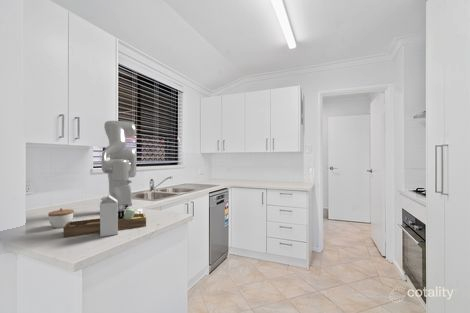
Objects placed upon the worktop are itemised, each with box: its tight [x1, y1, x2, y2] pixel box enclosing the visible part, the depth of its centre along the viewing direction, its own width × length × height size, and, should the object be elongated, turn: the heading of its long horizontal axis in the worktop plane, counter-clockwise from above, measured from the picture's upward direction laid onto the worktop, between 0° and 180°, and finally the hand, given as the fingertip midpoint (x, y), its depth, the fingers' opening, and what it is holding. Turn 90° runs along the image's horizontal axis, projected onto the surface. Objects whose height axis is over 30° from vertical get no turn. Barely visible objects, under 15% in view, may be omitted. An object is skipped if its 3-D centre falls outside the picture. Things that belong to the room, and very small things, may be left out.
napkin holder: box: [134, 208, 144, 214], centre depth 132 cm, size 15×11×6 cm
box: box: [62, 212, 147, 238], centre depth 115 cm, size 10×35×4 cm, turn 116°
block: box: [123, 207, 136, 220], centre depth 120 cm, size 4×4×5 cm
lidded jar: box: [47, 208, 75, 229], centre depth 120 cm, size 11×11×9 cm
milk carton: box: [99, 193, 119, 238], centre depth 107 cm, size 7×7×19 cm
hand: (121, 218), depth 120 cm, fingers closed
